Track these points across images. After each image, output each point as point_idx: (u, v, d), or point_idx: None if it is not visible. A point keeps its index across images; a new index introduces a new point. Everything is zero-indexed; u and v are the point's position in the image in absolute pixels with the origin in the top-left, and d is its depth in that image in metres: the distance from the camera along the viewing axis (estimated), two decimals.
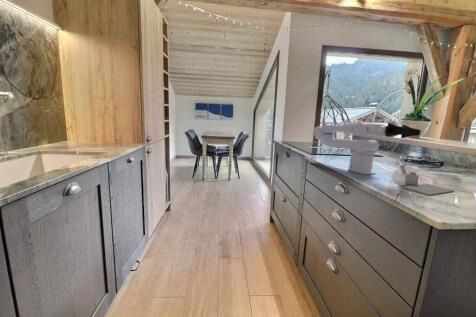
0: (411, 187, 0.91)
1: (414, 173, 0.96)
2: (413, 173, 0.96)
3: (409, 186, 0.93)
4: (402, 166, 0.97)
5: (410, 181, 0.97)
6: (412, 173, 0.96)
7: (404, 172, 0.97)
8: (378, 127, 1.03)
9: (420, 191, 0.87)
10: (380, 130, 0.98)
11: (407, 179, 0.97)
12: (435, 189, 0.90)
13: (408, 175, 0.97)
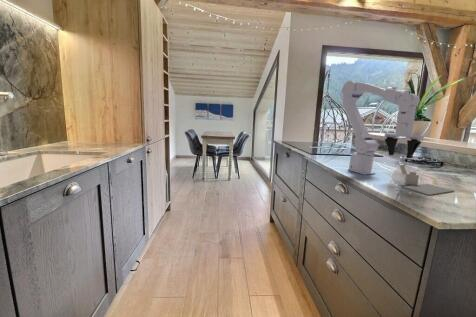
0: (411, 187, 0.91)
1: (414, 173, 0.96)
2: (413, 173, 0.96)
3: (409, 186, 0.93)
4: (402, 166, 0.97)
5: (410, 181, 0.97)
6: (412, 173, 0.96)
7: (404, 172, 0.97)
8: (412, 125, 0.96)
9: (420, 191, 0.87)
10: (421, 137, 0.92)
11: (407, 179, 0.97)
12: (435, 189, 0.90)
13: (408, 175, 0.97)
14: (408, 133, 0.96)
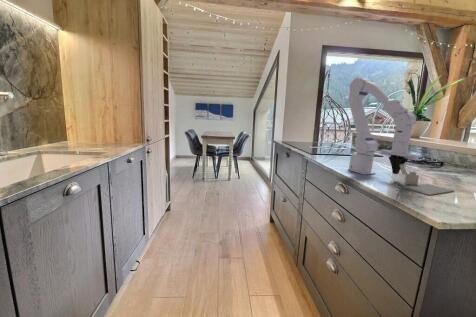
0: (411, 187, 0.91)
1: (414, 173, 0.96)
2: (413, 173, 0.96)
3: (409, 186, 0.93)
4: (402, 166, 0.97)
5: (410, 181, 0.97)
6: (412, 173, 0.96)
7: (404, 172, 0.97)
8: (408, 144, 0.97)
9: (420, 191, 0.87)
10: (416, 157, 0.94)
11: (407, 179, 0.97)
12: (435, 189, 0.90)
13: (408, 175, 0.97)
14: (404, 152, 0.97)
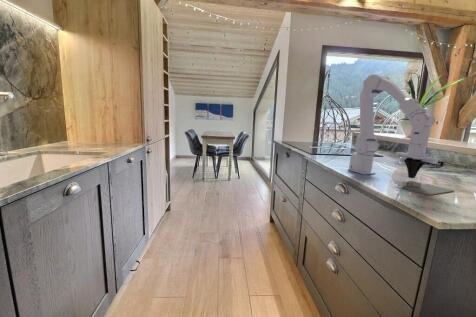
0: (411, 187, 0.91)
1: None
2: (415, 186, 0.92)
3: (409, 186, 0.93)
4: None
5: None
6: (414, 186, 0.93)
7: (405, 185, 0.94)
8: (426, 146, 0.92)
9: (420, 191, 0.87)
10: (435, 160, 0.88)
11: None
12: (435, 189, 0.90)
13: (409, 185, 0.94)
14: (421, 154, 0.92)
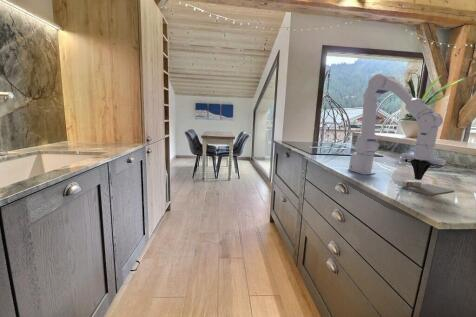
0: (411, 187, 0.91)
1: None
2: (415, 186, 0.92)
3: (409, 186, 0.93)
4: None
5: None
6: (414, 186, 0.93)
7: (405, 185, 0.94)
8: (433, 147, 0.89)
9: (420, 191, 0.87)
10: (443, 161, 0.86)
11: None
12: (435, 189, 0.90)
13: (409, 185, 0.94)
14: (428, 156, 0.89)
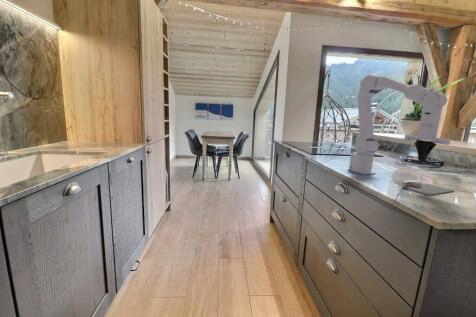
0: (411, 187, 0.91)
1: None
2: (415, 186, 0.92)
3: (409, 186, 0.93)
4: None
5: None
6: (414, 186, 0.93)
7: None
8: (437, 127, 0.88)
9: (420, 191, 0.87)
10: (448, 141, 0.84)
11: None
12: (435, 189, 0.90)
13: (409, 185, 0.94)
14: (433, 136, 0.88)
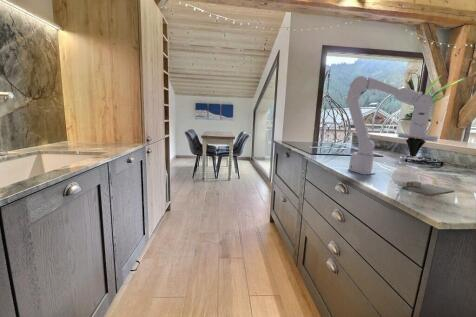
0: (411, 187, 0.91)
1: None
2: (415, 186, 0.92)
3: (409, 186, 0.93)
4: None
5: None
6: (414, 186, 0.93)
7: None
8: (426, 126, 0.98)
9: (420, 191, 0.87)
10: (435, 138, 0.95)
11: None
12: (435, 189, 0.90)
13: (409, 185, 0.94)
14: (422, 133, 0.98)
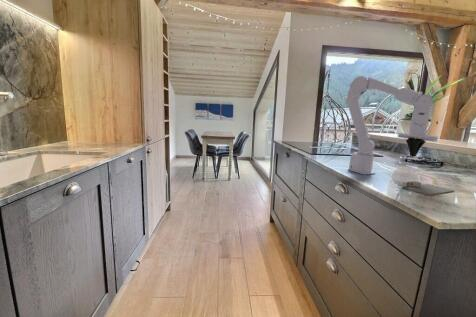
0: (411, 187, 0.91)
1: None
2: (415, 186, 0.92)
3: (409, 186, 0.93)
4: None
5: None
6: (414, 186, 0.93)
7: None
8: (426, 126, 0.98)
9: (420, 191, 0.87)
10: (435, 138, 0.95)
11: None
12: (435, 189, 0.90)
13: (409, 185, 0.94)
14: (422, 133, 0.98)
